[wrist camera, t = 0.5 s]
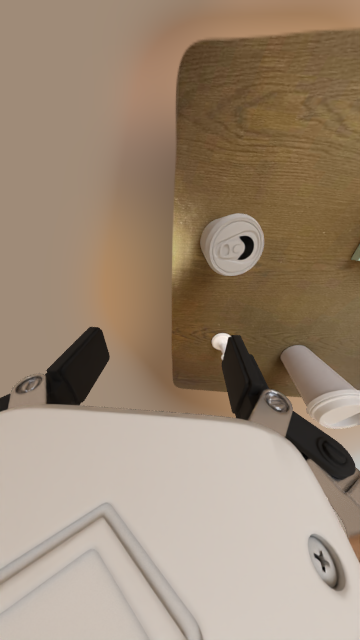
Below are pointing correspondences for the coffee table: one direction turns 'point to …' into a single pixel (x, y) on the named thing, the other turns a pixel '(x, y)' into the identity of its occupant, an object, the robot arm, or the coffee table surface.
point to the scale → (356, 254)
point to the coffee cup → (322, 389)
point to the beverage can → (232, 244)
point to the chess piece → (220, 342)
